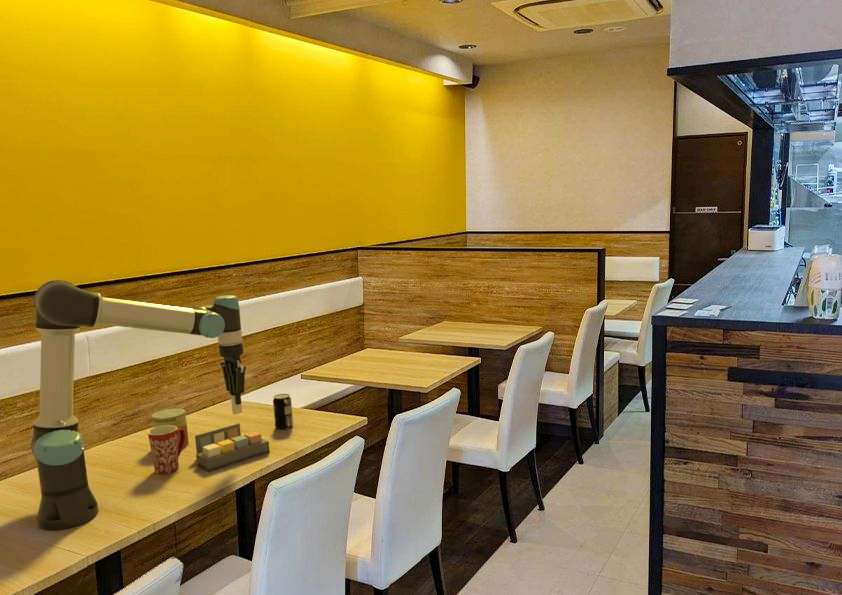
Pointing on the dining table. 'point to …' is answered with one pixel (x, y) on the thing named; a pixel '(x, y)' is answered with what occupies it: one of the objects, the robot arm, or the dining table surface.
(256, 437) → the key terracotta
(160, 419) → the canned food
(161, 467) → the mug
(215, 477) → the dining table surface
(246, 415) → the dining table surface
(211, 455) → the key ivory
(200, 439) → the placard
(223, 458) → the frame
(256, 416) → the dining table surface
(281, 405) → the beverage can
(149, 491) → the dining table surface
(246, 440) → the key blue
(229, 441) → the key mustard
